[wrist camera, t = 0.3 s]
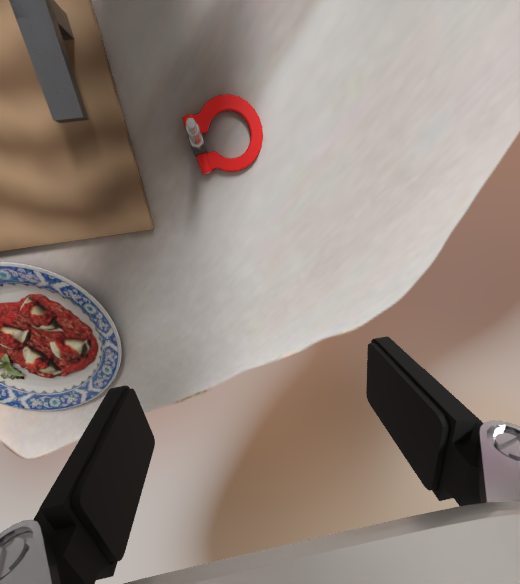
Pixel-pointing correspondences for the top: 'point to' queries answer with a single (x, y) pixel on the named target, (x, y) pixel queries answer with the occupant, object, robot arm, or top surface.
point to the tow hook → (201, 125)
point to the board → (64, 146)
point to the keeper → (51, 56)
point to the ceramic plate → (52, 341)
